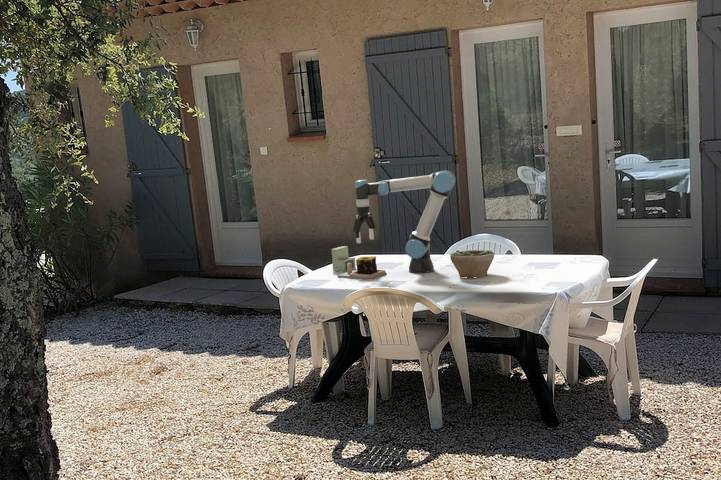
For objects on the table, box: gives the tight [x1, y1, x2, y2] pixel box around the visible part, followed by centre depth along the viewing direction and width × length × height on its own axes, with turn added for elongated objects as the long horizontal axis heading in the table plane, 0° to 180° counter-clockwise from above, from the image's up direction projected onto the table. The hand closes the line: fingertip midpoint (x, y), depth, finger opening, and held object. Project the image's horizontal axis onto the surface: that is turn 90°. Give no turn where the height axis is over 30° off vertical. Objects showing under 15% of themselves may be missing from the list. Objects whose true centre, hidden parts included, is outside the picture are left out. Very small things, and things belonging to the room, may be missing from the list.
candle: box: [355, 256, 378, 275], centre depth 470 cm, size 10×10×10 cm
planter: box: [449, 249, 495, 279], centre depth 450 cm, size 26×25×15 cm
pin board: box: [337, 263, 388, 280], centre depth 473 cm, size 25×16×7 cm, turn 55°
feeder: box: [331, 245, 357, 273], centre depth 497 cm, size 9×12×14 cm
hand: (365, 241), depth 468 cm, fingers open, 13 cm apart
